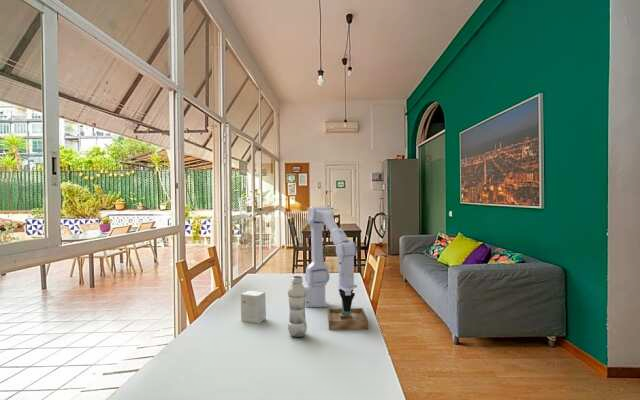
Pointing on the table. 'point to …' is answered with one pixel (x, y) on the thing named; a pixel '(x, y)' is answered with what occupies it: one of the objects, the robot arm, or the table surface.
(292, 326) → the plastic bottle
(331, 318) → the crate
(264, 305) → the small box
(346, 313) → the peg
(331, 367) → the table surface
